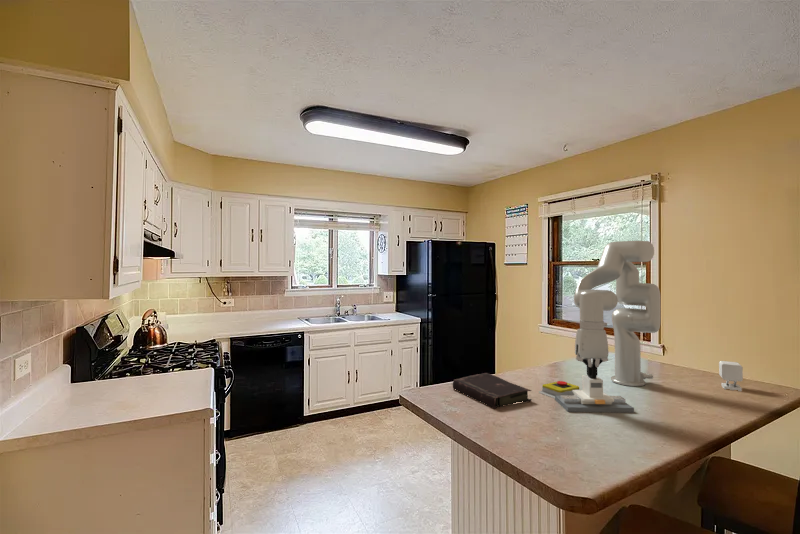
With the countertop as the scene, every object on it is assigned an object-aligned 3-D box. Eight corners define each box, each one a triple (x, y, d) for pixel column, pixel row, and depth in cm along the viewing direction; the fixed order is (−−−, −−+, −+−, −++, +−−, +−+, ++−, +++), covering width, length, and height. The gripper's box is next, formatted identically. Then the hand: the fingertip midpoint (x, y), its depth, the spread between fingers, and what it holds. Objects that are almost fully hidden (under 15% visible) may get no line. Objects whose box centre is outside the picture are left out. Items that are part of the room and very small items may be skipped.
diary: (494, 411, 131) (493, 397, 131) (452, 391, 153) (452, 379, 153) (533, 401, 139) (533, 388, 139) (488, 384, 162) (488, 372, 162)
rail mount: (615, 400, 139) (615, 392, 139) (634, 412, 127) (633, 403, 127) (554, 399, 140) (554, 391, 140) (567, 411, 128) (567, 402, 128)
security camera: (739, 387, 154) (739, 362, 154) (743, 391, 148) (743, 366, 148) (719, 384, 157) (719, 360, 157) (722, 389, 151) (722, 364, 152)
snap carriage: (600, 396, 138) (600, 390, 139) (615, 407, 127) (615, 400, 128) (572, 396, 139) (572, 389, 139) (585, 406, 128) (585, 400, 128)
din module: (595, 391, 137) (595, 375, 137) (603, 397, 130) (603, 380, 131) (582, 391, 137) (582, 375, 137) (589, 397, 131) (589, 380, 131)
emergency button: (583, 383, 148) (556, 388, 141) (583, 394, 148) (556, 400, 141) (563, 377, 156) (537, 382, 149) (563, 387, 156) (537, 393, 149)
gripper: (607, 324, 137) (608, 375, 137) (565, 324, 138) (566, 374, 138) (618, 327, 130) (619, 380, 130) (574, 327, 131) (575, 380, 130)
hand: (592, 377), depth 134 cm, fingers closed
